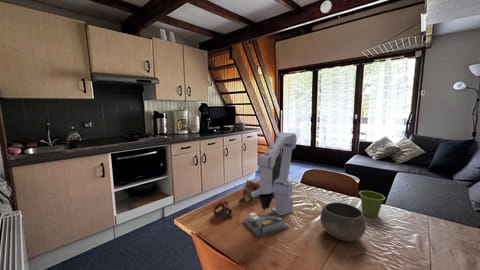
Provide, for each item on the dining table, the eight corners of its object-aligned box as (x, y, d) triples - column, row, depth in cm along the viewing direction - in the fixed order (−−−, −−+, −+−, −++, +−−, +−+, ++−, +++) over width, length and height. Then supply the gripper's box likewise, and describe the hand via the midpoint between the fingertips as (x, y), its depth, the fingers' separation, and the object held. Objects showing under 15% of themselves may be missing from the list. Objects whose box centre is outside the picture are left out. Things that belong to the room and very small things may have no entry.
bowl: (365, 254, 80) (367, 224, 78) (316, 240, 89) (318, 212, 87) (363, 231, 95) (365, 205, 94) (322, 221, 104) (323, 197, 103)
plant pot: (361, 218, 107) (362, 198, 106) (355, 208, 118) (356, 189, 117) (387, 222, 104) (389, 200, 102) (378, 211, 115) (380, 191, 114)
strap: (278, 219, 103) (279, 216, 103) (282, 222, 100) (282, 219, 100) (256, 216, 97) (257, 213, 97) (259, 219, 94) (260, 216, 94)
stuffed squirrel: (237, 201, 126) (237, 180, 125) (251, 194, 137) (251, 175, 136) (250, 206, 120) (250, 184, 118) (264, 198, 131) (264, 178, 129)
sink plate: (271, 215, 110) (271, 207, 110) (288, 228, 98) (288, 220, 97) (243, 222, 103) (243, 214, 102) (257, 237, 90) (257, 229, 90)
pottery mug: (233, 222, 104) (225, 210, 101) (217, 228, 106) (209, 216, 104) (235, 205, 115) (228, 194, 113) (221, 211, 117) (213, 200, 115)
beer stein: (256, 188, 147) (257, 154, 144) (271, 181, 162) (271, 150, 159) (277, 194, 137) (278, 158, 134) (290, 186, 151) (291, 153, 149)
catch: (254, 218, 103) (254, 212, 103) (260, 223, 99) (260, 217, 98) (249, 219, 102) (249, 213, 102) (254, 225, 97) (254, 218, 97)
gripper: (273, 175, 102) (273, 202, 103) (248, 180, 95) (247, 207, 97) (282, 180, 95) (281, 208, 97) (255, 185, 89) (255, 214, 91)
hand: (265, 208), depth 97 cm, fingers closed
